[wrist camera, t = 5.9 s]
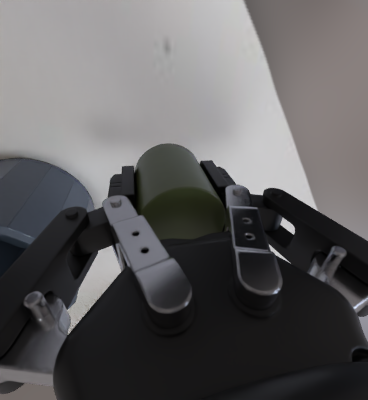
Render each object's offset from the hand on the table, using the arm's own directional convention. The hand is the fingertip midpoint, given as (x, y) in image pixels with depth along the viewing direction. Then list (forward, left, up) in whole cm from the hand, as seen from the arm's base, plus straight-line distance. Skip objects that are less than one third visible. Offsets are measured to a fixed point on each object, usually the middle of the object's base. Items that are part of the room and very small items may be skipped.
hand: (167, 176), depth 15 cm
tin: (0, 0, 0) cm, 0 cm away
